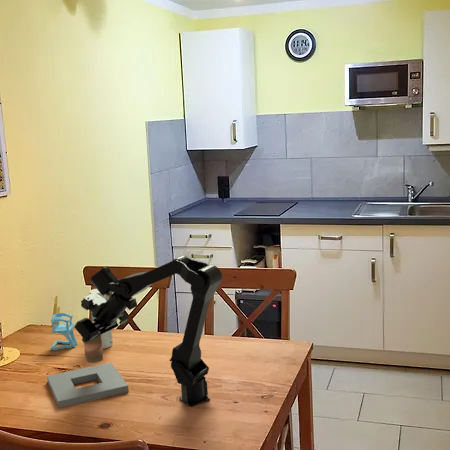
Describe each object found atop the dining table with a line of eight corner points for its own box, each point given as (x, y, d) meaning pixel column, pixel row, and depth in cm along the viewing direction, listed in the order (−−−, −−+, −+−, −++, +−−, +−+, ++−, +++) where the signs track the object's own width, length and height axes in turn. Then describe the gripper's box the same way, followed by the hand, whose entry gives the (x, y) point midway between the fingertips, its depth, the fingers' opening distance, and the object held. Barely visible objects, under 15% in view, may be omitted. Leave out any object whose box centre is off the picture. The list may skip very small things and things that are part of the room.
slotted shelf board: (128, 391, 183) (128, 385, 183) (58, 408, 175) (58, 401, 175) (111, 368, 201) (111, 362, 201) (47, 382, 193) (47, 376, 193)
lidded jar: (95, 364, 187) (92, 332, 186) (81, 361, 190) (78, 330, 188) (107, 357, 192) (104, 326, 190) (93, 355, 194) (90, 324, 193)
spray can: (115, 346, 221) (110, 291, 217) (97, 350, 218) (91, 294, 214) (110, 340, 226) (105, 287, 223) (92, 344, 224) (87, 290, 220)
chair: (73, 350, 220) (70, 317, 217) (50, 350, 220) (46, 318, 218) (78, 342, 227) (76, 310, 225) (56, 343, 227) (52, 311, 225)
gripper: (117, 278, 193) (92, 309, 200) (76, 295, 177) (50, 328, 184) (140, 305, 191) (114, 335, 198) (100, 324, 175) (74, 357, 182)
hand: (89, 338), depth 190 cm, fingers closed on lidded jar, 5 cm apart
